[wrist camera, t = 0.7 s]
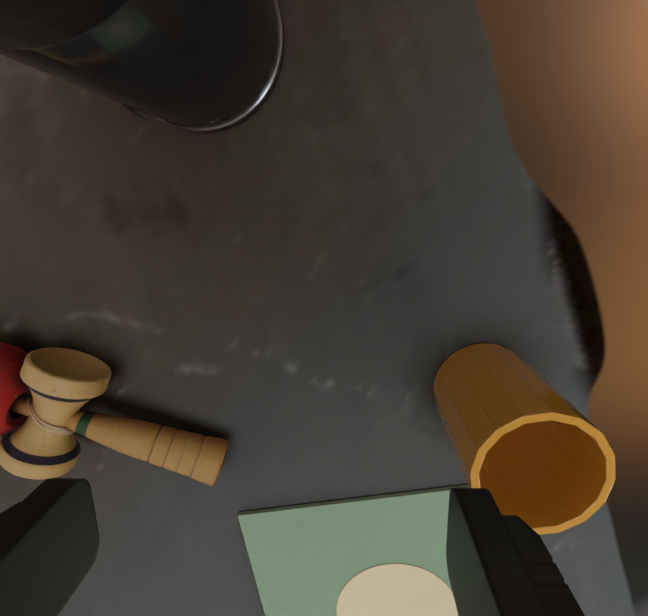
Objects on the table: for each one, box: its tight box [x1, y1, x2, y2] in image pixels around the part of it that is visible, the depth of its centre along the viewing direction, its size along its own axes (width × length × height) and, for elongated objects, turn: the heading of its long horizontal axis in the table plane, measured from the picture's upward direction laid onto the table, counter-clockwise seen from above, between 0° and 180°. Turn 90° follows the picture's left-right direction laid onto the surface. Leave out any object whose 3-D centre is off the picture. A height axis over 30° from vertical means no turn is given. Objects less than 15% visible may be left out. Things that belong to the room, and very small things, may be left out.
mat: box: [238, 484, 469, 616], centre depth 32 cm, size 20×20×1 cm
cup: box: [433, 343, 615, 535], centre depth 23 cm, size 6×6×9 cm
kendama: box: [0, 342, 228, 486], centre depth 27 cm, size 8×6×18 cm
